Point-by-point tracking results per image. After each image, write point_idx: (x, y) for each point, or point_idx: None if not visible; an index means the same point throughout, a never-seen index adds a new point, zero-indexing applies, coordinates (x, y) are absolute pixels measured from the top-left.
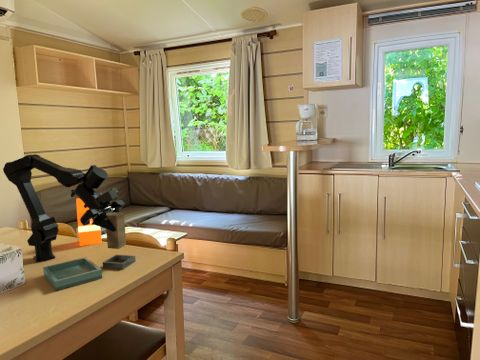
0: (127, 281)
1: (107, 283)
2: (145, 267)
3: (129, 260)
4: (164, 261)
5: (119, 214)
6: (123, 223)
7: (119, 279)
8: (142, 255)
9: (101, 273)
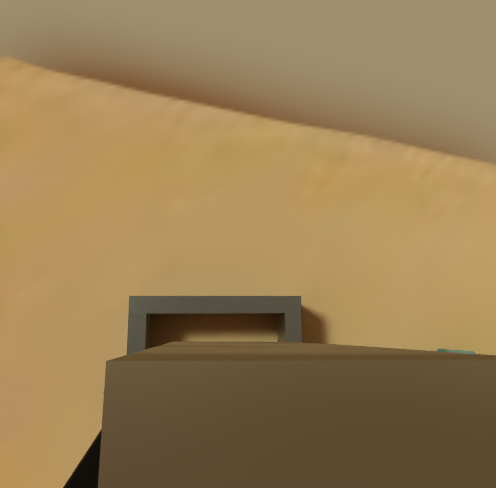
0: (431, 177)
1: (485, 271)
2: (228, 175)
3: (213, 296)
4: (108, 101)
5: (385, 371)
6: (190, 349)
7: (423, 235)
8: (7, 312)
9: (457, 352)
